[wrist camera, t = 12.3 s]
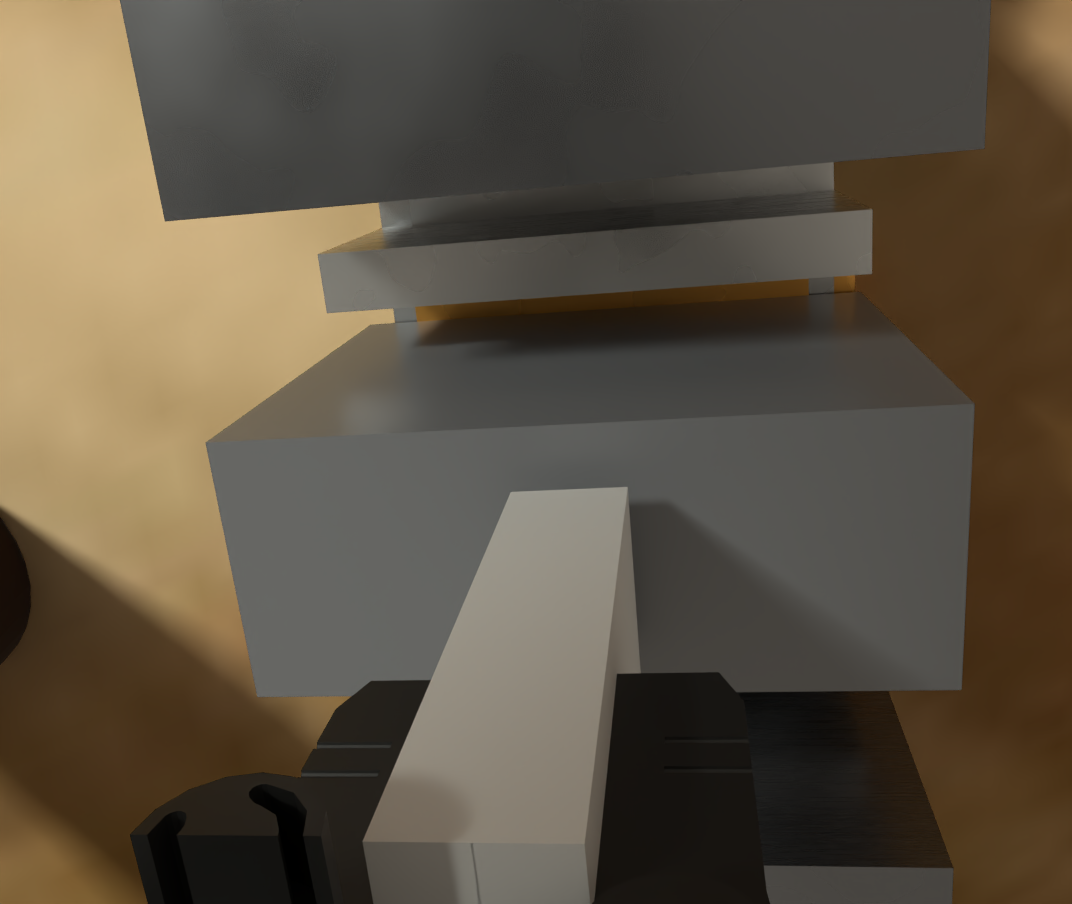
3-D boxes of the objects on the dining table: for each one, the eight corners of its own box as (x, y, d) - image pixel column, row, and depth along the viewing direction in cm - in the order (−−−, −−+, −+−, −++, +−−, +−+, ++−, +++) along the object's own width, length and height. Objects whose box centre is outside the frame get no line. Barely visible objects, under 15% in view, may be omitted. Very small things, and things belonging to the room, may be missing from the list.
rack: (316, -172, 19) (40, -388, 11) (853, -251, 18) (1015, -574, 9) (457, 822, 27) (356, 1155, 18) (849, 825, 25) (939, 1190, 17)
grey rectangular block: (370, 324, 21) (205, 443, 14) (860, 291, 20) (975, 403, 12) (396, 500, 23) (257, 697, 15) (859, 482, 21) (961, 690, 14)
